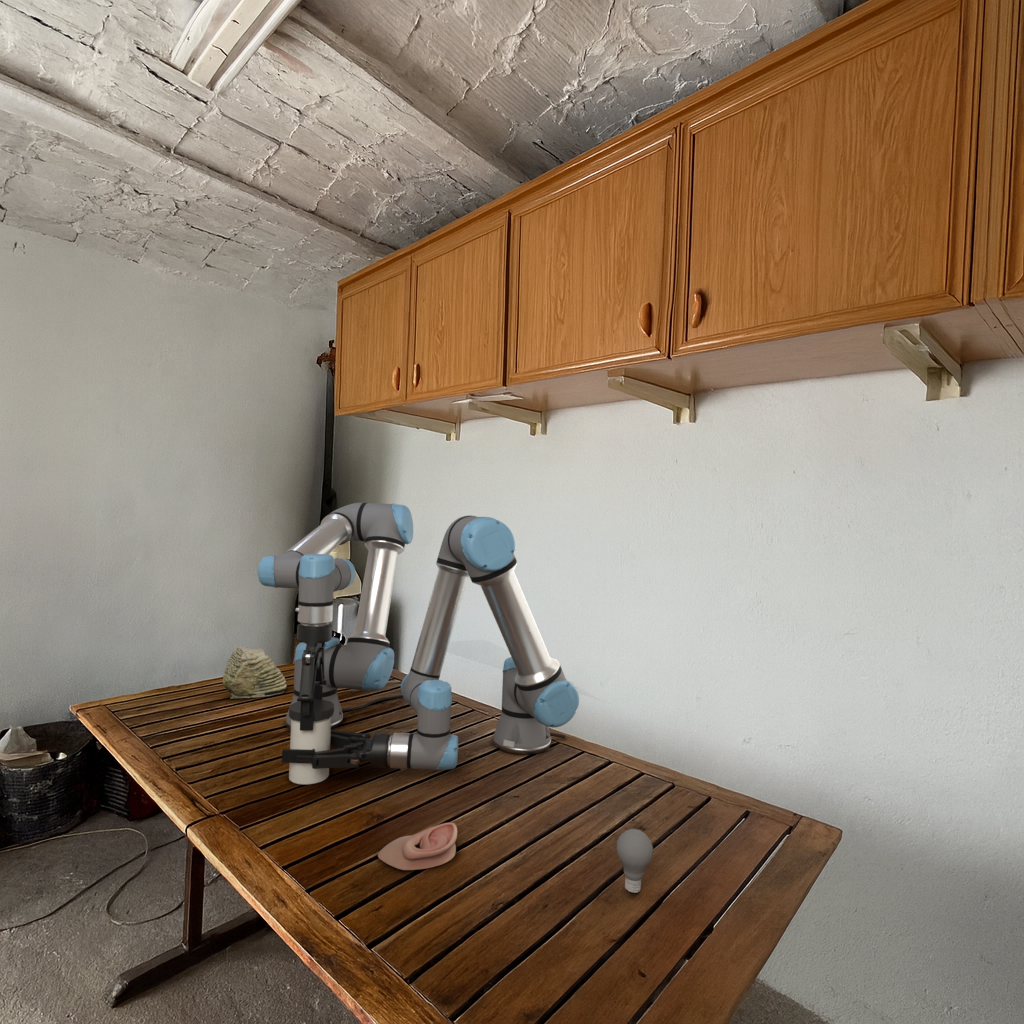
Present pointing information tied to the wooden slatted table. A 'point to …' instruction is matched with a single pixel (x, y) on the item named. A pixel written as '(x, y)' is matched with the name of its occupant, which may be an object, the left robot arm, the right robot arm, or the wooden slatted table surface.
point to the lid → (321, 710)
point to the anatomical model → (422, 848)
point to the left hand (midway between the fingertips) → (311, 721)
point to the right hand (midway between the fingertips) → (289, 747)
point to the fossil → (252, 674)
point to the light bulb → (634, 857)
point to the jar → (309, 741)
